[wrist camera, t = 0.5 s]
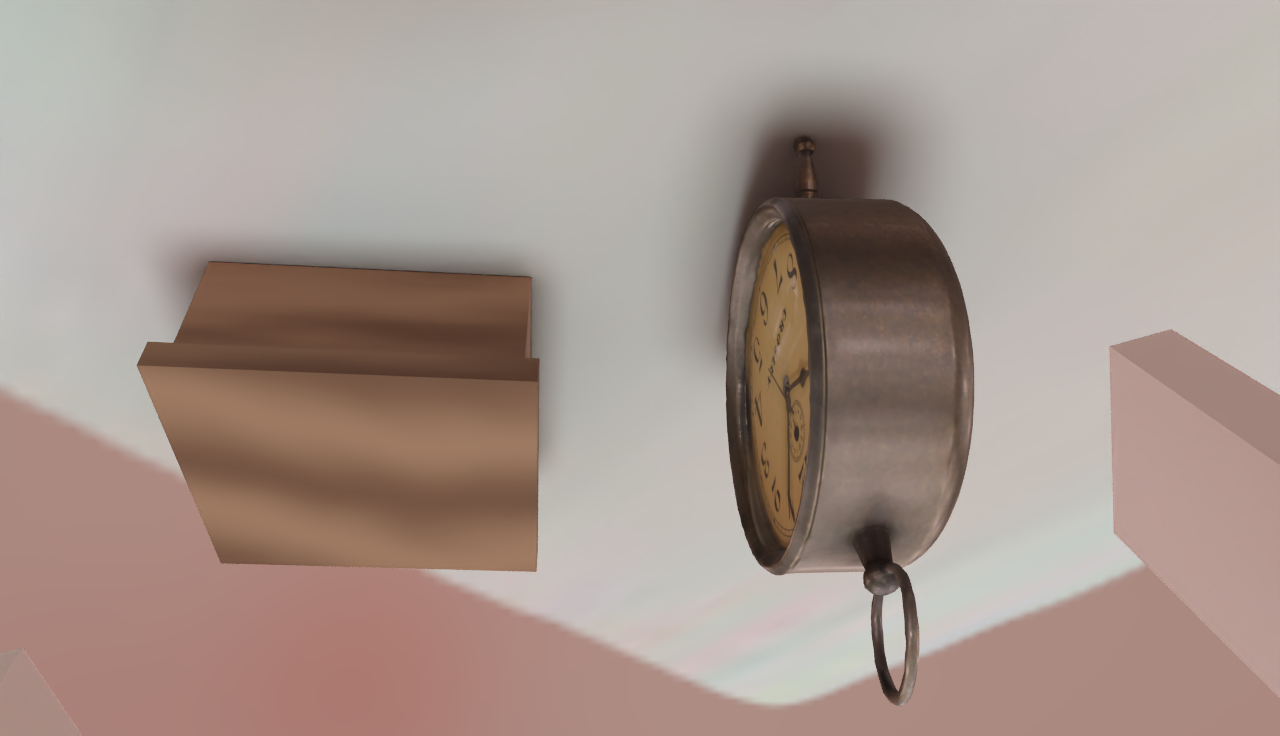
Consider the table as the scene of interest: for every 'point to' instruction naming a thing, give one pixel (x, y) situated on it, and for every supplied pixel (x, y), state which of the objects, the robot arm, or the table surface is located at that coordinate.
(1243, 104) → the table surface
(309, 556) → the walnut stand
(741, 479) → the alarm clock
